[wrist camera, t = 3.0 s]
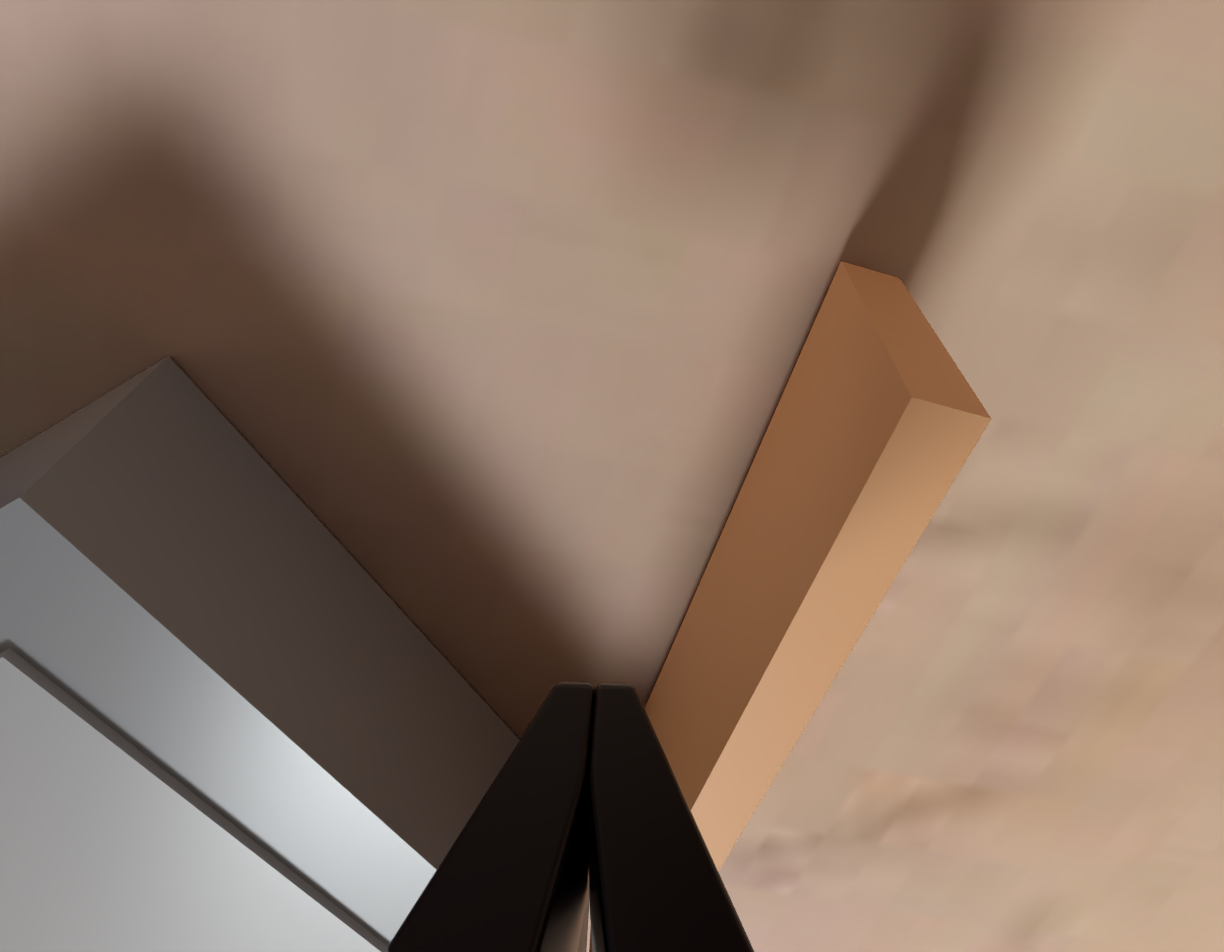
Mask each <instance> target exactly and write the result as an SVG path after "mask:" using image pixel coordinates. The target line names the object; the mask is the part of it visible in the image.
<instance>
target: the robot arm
mask: <svg viewBox="0 0 1224 952" xmlns="http://www.w3.org/2000/svg"><path fill="white" fill-rule="evenodd" d="M588 876H589V897H590V918H591V933H592V947H593V952H754V950H753V948H752V946H751V943H750V941H749V939H748V937H747V935H746V932H745V930H744V928H743V926H742V923H741V921H740V919H739V917H738V915H737V912H736V910H735V908H734V906H733V903H732V901H731V899H730V897H729V895H728V892H727V890H726V888H725V886H724V884H723V881H722V879H721V877H720V875H719V872H718V870H717V868H716V866H715V864H714V861H713V859H712V857H711V855H710V852H709V850H708V848H707V846H706V844H705V841H704V839H703V837H702V835H701V832H700V830H699V828H698V826H697V824H696V821H695V819H694V817H693V815H692V813H691V810H690V808H689V806H688V804H687V801H686V799H685V797H684V795H683V793H682V790H681V788H680V786H679V784H678V781H677V779H676V777H675V775H674V773H673V770H672V768H671V766H670V764H669V761H668V759H667V757H666V755H665V753H664V750H663V748H662V746H661V744H660V742H659V739H658V737H657V735H656V733H655V730H654V728H653V726H652V724H651V722H650V719H649V717H648V715H647V713H646V710H645V708H644V706H643V704H642V702H641V699H640V697H639V695H638V693H637V691H636V689H635V688H634V686H632V685H631V684H618V683H600V684H598V685H597V687H596V689H595V688H594V686H593V685H592V684H591V683H588V682H559V683H557V684H556V685H555V686H554V687H553V689H552V690H551V692H550V693H549V695H548V696H547V698H546V700H545V701H544V703H543V704H542V706H541V707H540V709H539V710H538V712H537V714H536V715H535V717H534V718H533V720H532V721H531V723H530V725H529V726H528V728H527V729H526V731H525V732H524V734H523V735H522V737H521V739H520V740H519V742H518V743H517V745H516V746H515V748H514V750H513V751H512V753H511V754H510V756H509V757H508V759H507V761H506V762H505V764H504V765H503V767H502V768H501V770H500V771H499V773H498V775H497V776H496V778H495V779H494V781H493V782H492V784H491V786H490V787H489V789H488V790H487V792H486V793H485V795H484V797H483V798H482V800H481V801H480V803H479V804H478V806H477V807H476V809H475V811H474V812H473V814H472V815H471V817H470V818H469V820H468V822H467V823H466V825H465V826H464V828H463V829H462V831H461V833H460V834H459V836H458V837H457V839H456V840H455V842H454V843H453V845H452V847H451V848H450V850H449V851H448V853H447V854H446V856H445V858H444V859H443V861H442V862H441V864H440V865H439V867H438V868H437V870H436V872H435V873H434V875H433V876H432V878H431V879H430V881H429V883H428V884H427V886H426V887H425V889H424V890H423V892H422V894H421V895H420V897H419V898H418V900H417V901H416V903H415V904H414V906H413V908H412V909H411V911H410V912H409V914H408V915H407V917H406V919H405V920H404V922H403V923H402V925H401V926H400V928H399V930H398V931H397V933H396V934H395V936H394V937H393V939H392V940H391V942H390V944H389V945H388V947H387V952H578V947H579V941H580V935H581V929H582V923H583V917H584V911H585V904H586V897H587V889H588Z"/></svg>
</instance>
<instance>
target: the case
mask: <svg viewBox="0 0 1224 952" xmlns="http://www.w3.org/2000/svg"><path fill="white" fill-rule="evenodd" d="M518 742H519V739H518V738H517V736H516V735H515V734H514V733H513V732H512V731H511V730H510V729H509V728H508V727H507V726H506V724H505V723H504V722H503V721H502V720H501V719H500V718H499V717H498V716H497V715H496V713H495V712H494V711H493V710H492V709H491V708H490V707H489V706H488V705H487V704H486V703H485V701H484V700H483V699H482V698H481V697H480V696H479V695H478V694H477V693H476V692H475V691H474V689H473V688H472V687H471V686H470V685H469V684H468V683H467V682H466V681H465V680H464V678H463V677H462V676H461V675H460V674H459V673H458V672H457V671H456V670H455V669H454V668H453V666H452V665H451V664H450V663H449V662H448V661H447V660H446V659H445V658H444V657H443V655H442V654H441V653H440V652H439V651H438V650H437V649H436V648H435V647H434V646H433V645H432V643H431V642H430V641H429V640H428V639H427V638H426V637H425V636H424V635H423V634H422V633H421V631H420V630H419V629H418V628H417V627H416V626H415V625H414V624H413V623H412V622H411V620H410V619H409V618H408V617H407V616H406V615H405V614H404V613H403V612H402V611H401V610H400V608H399V607H398V606H397V605H396V604H395V603H394V602H393V601H392V600H391V599H390V597H389V596H388V595H387V594H386V593H385V592H384V591H383V590H382V589H381V588H380V587H379V585H378V584H377V583H376V582H375V581H374V580H373V579H372V578H371V577H370V576H369V575H368V573H367V572H366V571H365V570H364V569H363V568H362V567H361V566H360V565H359V564H358V562H357V561H356V560H355V559H354V558H353V557H352V556H351V555H350V554H349V553H348V552H347V550H346V549H345V548H344V547H343V546H342V545H341V544H340V543H339V542H338V541H337V539H336V538H335V537H334V536H333V535H332V534H331V533H330V532H329V531H328V530H327V529H326V527H325V526H324V525H323V524H322V523H321V522H320V521H319V520H318V519H317V518H316V517H315V515H314V514H313V513H312V512H311V511H310V510H309V509H308V508H307V507H306V506H305V504H304V503H303V502H302V501H301V500H300V499H299V498H298V497H297V496H296V495H295V494H294V492H293V491H292V490H291V489H290V488H289V487H288V486H287V485H286V484H285V483H284V481H283V480H282V479H281V478H280V477H279V476H278V475H277V474H276V473H275V472H274V471H273V469H272V468H271V467H270V466H269V465H268V464H267V463H266V462H265V461H264V460H263V459H262V457H261V456H260V455H259V454H258V453H257V452H256V451H255V450H254V449H253V448H252V446H251V445H250V444H249V443H248V442H247V441H246V440H245V439H244V438H243V437H242V436H241V434H240V433H239V432H238V431H237V430H236V429H235V428H234V427H233V426H232V425H231V424H230V422H229V421H228V420H227V419H226V418H225V417H224V416H223V415H222V414H221V413H220V411H219V410H218V409H217V408H216V407H215V406H214V405H213V404H212V403H211V402H210V401H209V399H208V398H207V397H206V396H205V395H204V394H203V393H202V392H201V391H200V390H199V388H198V387H197V386H196V385H195V384H194V383H193V382H192V381H191V380H190V379H189V378H188V376H187V375H186V374H185V373H184V372H183V371H182V370H181V369H180V368H179V367H178V366H177V364H176V363H175V362H174V361H173V360H172V359H171V358H170V357H169V356H167V357H166V358H164V359H162V360H161V361H159V362H157V363H156V364H154V365H152V366H151V367H149V368H147V369H146V370H144V371H142V372H141V373H139V374H137V375H136V376H134V377H133V378H131V379H129V380H128V381H126V382H124V383H123V384H121V385H119V386H118V387H116V388H114V389H113V390H111V391H109V392H108V393H106V394H104V395H103V396H101V397H99V398H98V399H96V400H95V401H93V402H91V403H90V404H88V405H86V406H85V407H83V408H81V409H80V410H78V411H76V412H75V413H73V414H71V415H70V416H68V417H66V418H65V419H63V420H62V421H60V422H58V423H57V424H55V425H53V426H52V427H50V428H48V429H47V430H45V431H43V432H42V433H40V434H38V435H37V436H35V437H33V438H32V439H30V440H29V441H27V442H25V443H24V444H22V445H20V446H19V447H17V448H15V449H14V450H12V451H10V452H9V453H7V454H5V455H4V456H2V457H0V952H387V947H388V945H389V944H390V942H391V940H392V939H393V937H394V936H395V934H396V933H397V931H398V930H399V928H400V926H401V925H402V923H403V922H404V920H405V919H406V917H407V915H408V914H409V912H410V911H411V909H412V908H413V906H414V904H415V903H416V901H417V900H418V898H419V897H420V895H421V894H422V892H423V890H424V889H425V887H426V886H427V884H428V883H429V881H430V879H431V878H432V876H433V875H434V873H435V872H436V870H437V868H438V867H439V865H440V864H441V862H442V861H443V859H444V858H445V856H446V854H447V853H448V851H449V850H450V848H451V847H452V845H453V843H454V842H455V840H456V839H457V837H458V836H459V834H460V833H461V831H462V829H463V828H464V826H465V825H466V823H467V822H468V820H469V818H470V817H471V815H472V814H473V812H474V811H475V809H476V807H477V806H478V804H479V803H480V801H481V800H482V798H483V797H484V795H485V793H486V792H487V790H488V789H489V787H490V786H491V784H492V782H493V781H494V779H495V778H496V776H497V775H498V773H499V771H500V770H501V768H502V767H503V765H504V764H505V762H506V761H507V759H508V757H509V756H510V754H511V753H512V751H513V750H514V748H515V746H516V745H517V743H518ZM589 899H590V897H589V876H588V889H587V897H586V904H585V911H584V917H583V923H582V929H581V935H580V941H579V947H578V952H586V947H587V931H588V915H589Z"/></svg>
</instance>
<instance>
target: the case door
mask: <svg viewBox="0 0 1224 952" xmlns="http://www.w3.org/2000/svg"><path fill="white" fill-rule="evenodd" d="M990 420H991V418H990V416H989V415H988V413H987V412H986V410H985V408H984V407H983V405H982V404H981V402H980V401H979V399H978V398H977V396H976V395H975V393H974V392H973V390H972V389H971V387H970V385H969V384H968V382H967V381H966V379H965V378H964V376H963V375H962V373H961V372H960V370H959V369H958V367H957V365H956V364H955V362H954V361H953V359H952V358H951V356H950V355H949V353H948V352H947V350H946V349H945V347H944V345H943V344H942V342H941V341H940V339H939V338H938V336H937V335H936V333H935V332H934V330H933V329H932V327H931V326H930V324H929V322H928V321H927V319H926V318H925V316H924V315H923V313H922V312H921V310H920V309H919V307H918V306H917V304H916V302H915V301H914V299H913V298H912V296H911V295H910V293H909V292H908V290H907V289H906V287H905V286H904V284H903V282H902V281H901V279H900V278H898V277H894V276H891V275H887V274H884V273H881V272H877V271H874V270H870V269H867V268H863V267H860V266H856V265H853V264H850V263H846V262H843V261H841V262H840V265H839V267H838V269H837V271H836V274H835V276H834V278H833V281H832V283H831V285H830V287H829V290H828V292H827V294H826V297H825V299H824V301H823V303H822V306H821V308H820V310H819V312H818V315H817V317H816V319H815V322H814V324H813V326H812V328H811V331H810V333H809V335H808V338H807V340H806V342H805V344H804V347H803V349H802V351H801V354H800V356H799V358H798V360H797V363H796V365H795V367H794V369H793V372H792V374H791V376H790V379H789V381H788V383H787V385H786V388H785V390H784V392H783V395H782V397H781V399H780V401H779V404H778V406H777V408H776V410H775V413H774V415H773V417H772V420H771V422H770V424H769V426H768V429H767V431H766V433H765V436H764V438H763V440H762V442H761V445H760V447H759V449H758V452H757V454H756V456H755V458H754V461H753V463H752V465H751V467H750V470H749V472H748V474H747V477H746V479H745V481H744V483H743V486H742V488H741V490H740V493H739V495H738V497H737V499H736V502H735V504H734V506H733V508H732V511H731V513H730V515H729V518H728V520H727V522H726V524H725V527H724V529H723V531H722V534H721V536H720V538H719V540H718V543H717V545H716V547H715V549H714V552H713V554H712V556H711V559H710V561H709V563H708V565H707V568H706V570H705V572H704V575H703V577H702V579H701V581H700V584H699V586H698V588H697V591H696V593H695V595H694V597H693V600H692V602H691V604H690V606H689V609H688V611H687V613H686V616H685V618H684V620H683V622H682V625H681V627H680V629H679V632H678V634H677V636H676V638H675V641H674V643H673V645H672V647H671V650H670V652H669V654H668V657H667V659H666V661H665V663H664V666H663V668H662V670H661V673H660V675H659V677H658V679H657V682H656V684H655V686H654V688H653V691H652V693H651V695H650V698H649V700H648V702H647V704H646V707H645V710H646V713H647V715H648V717H649V719H650V722H651V724H652V726H653V728H654V730H655V733H656V735H657V737H658V739H659V742H660V744H661V746H662V748H663V750H664V753H665V755H666V757H667V759H668V761H669V764H670V766H671V768H672V770H673V773H674V775H675V777H676V779H677V781H678V784H679V786H680V788H681V790H682V793H683V795H684V797H685V799H686V801H687V804H688V806H689V808H690V810H691V813H692V815H693V817H694V819H695V821H696V824H697V826H698V828H699V830H700V832H701V835H702V837H703V839H704V841H705V844H706V846H707V848H708V850H709V852H710V855H711V857H712V859H713V861H714V864H715V866H716V868H717V870H718V871H719V870H720V868H721V866H722V865H723V863H724V861H725V860H726V858H727V857H728V855H729V853H730V852H731V850H732V848H733V847H734V845H735V843H736V842H737V840H738V838H739V837H740V835H741V833H742V832H743V830H744V828H745V827H746V825H747V823H748V822H749V820H750V818H751V817H752V815H753V813H754V812H755V810H756V808H757V807H758V805H759V803H760V802H761V800H762V798H763V797H764V795H765V793H766V792H767V790H768V788H769V787H770V785H771V783H772V782H773V780H774V779H775V777H776V775H777V774H778V772H779V770H780V769H781V767H782V765H783V764H784V762H785V760H786V759H787V757H788V755H789V754H790V752H791V750H792V749H793V747H794V745H795V744H796V742H797V740H798V739H799V737H800V735H801V734H802V732H803V730H804V729H805V727H806V725H807V724H808V722H809V720H810V719H811V717H812V715H813V714H814V712H815V710H816V709H817V707H818V705H819V704H820V702H821V701H822V699H823V697H824V696H825V694H826V692H827V691H828V689H829V687H830V686H831V684H832V682H833V681H834V679H835V677H836V676H837V674H838V672H839V671H840V669H841V667H842V666H843V664H844V662H845V661H846V659H847V657H848V656H849V654H850V652H851V651H852V649H853V647H854V646H855V644H856V642H857V641H858V639H859V637H860V636H861V634H862V632H863V631H864V629H865V627H866V626H867V624H868V623H869V621H870V619H871V618H872V616H873V614H874V613H875V611H876V609H877V608H878V606H879V604H880V603H881V601H882V599H883V598H884V596H885V594H886V593H887V591H888V589H889V588H890V586H891V584H892V583H893V581H894V579H895V578H896V576H897V574H898V573H899V571H900V569H901V568H902V566H903V564H904V563H905V561H906V559H907V558H908V556H909V554H910V553H911V551H912V549H913V548H914V546H915V545H916V543H917V541H918V540H919V538H920V536H921V535H922V533H923V531H924V530H925V528H926V526H927V525H928V523H929V521H930V520H931V518H932V516H933V515H934V513H935V511H936V510H937V508H938V506H939V505H940V503H941V501H942V500H943V498H944V496H945V495H946V493H947V491H948V490H949V488H950V486H951V485H952V483H953V481H954V480H955V478H956V476H957V475H958V473H959V471H960V470H961V468H962V467H963V465H964V463H965V462H966V460H967V458H968V457H969V455H970V453H971V452H972V450H973V448H974V447H975V445H976V443H977V442H978V440H979V438H980V437H981V435H982V433H983V432H984V430H985V428H986V427H987V425H988V423H989V422H990ZM589 952H593V947H592V933H591V932H590V949H589Z"/></svg>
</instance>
